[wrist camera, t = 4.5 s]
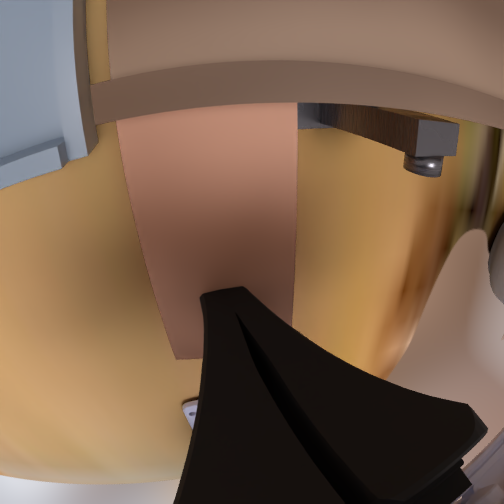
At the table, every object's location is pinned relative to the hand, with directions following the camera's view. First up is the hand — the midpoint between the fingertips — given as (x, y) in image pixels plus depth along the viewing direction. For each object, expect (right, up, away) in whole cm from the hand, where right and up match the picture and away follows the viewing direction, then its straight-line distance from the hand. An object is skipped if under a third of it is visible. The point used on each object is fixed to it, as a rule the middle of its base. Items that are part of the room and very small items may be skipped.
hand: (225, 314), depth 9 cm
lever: (+8, +6, -2) cm, 10 cm away
